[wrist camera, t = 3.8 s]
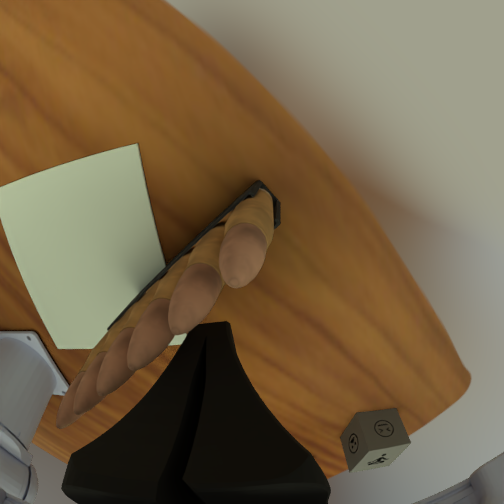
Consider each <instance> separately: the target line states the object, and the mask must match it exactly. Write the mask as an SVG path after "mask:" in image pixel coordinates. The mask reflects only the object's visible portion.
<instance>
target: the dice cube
mask: <svg viewBox="0 0 504 504" xmlns="http://www.w3.org/2000/svg"><path fill="white" fill-rule="evenodd" d="M340 439H341V442H342V446H343V450H344V453H345V457H346V461H347V465H348V469H349V472H357V471H363V470H369V469H374V468H379V467H384V466H389V465H390V464H391V463H392V462H393V461H394V460H395V459H396V458H397V457H398V456H399V455H400V454H401V453H402V452H403V451H404V450H405V449H406V448H407V447H408V446H409V445H410V443H411V442H410V439H409V437H408V434H407V432H406V430H405V427H404V425H403V423H402V420H401V418H400V416H399V414H398V411H397V409H396V408H393V409H385V410H377V411H368V412H357V413H356V414H355V416H354V417H353V419H352V420H351V422H350V423H349V425H348V426H347V428H346V429H345V431H344V432H343V434H342V435H341V437H340Z"/></svg>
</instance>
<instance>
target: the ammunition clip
mask: <svg viewBox="0 0 504 504" xmlns="http://www.w3.org/2000/svg"><path fill="white" fill-rule="evenodd" d="M279 225H280V202H279V201H278V199H277V198H276V197H275V196H274V195H273V194H272V193H271V192H270V191H269V189H268V188H267V187H266V186H265V185H264V184H263V183H262V182H261V181H260V180H258V181H256V182H255V183H254V184H253V185H252V186H251V187H249V188H248V189H247V190H246V191H245V192H244V193H243V194H242V195H241V196H240V197H238V198H237V199H236V200H235V201H234V202H233V203H232V204H231V205H230V206H229V207H228V208H226V209H225V210H224V211H223V212H222V213H221V214H220V215H219V216H218V217H217V218H216V219H215V220H213V221H212V222H211V223H210V224H209V225H208V226H207V227H206V228H205V229H204V230H203V231H202V232H201V233H200V234H199V235H198V236H197V237H195V238H194V239H193V240H192V241H191V242H190V243H189V244H188V245H187V246H186V247H185V248H184V249H183V250H182V251H181V252H180V253H179V254H178V255H177V256H176V257H175V258H174V259H173V260H172V261H171V262H170V263H169V264H168V265H167V266H166V267H165V268H163V269H162V270H161V271H160V272H159V273H158V274H157V275H156V276H155V277H154V278H153V279H152V280H151V281H150V282H149V283H148V284H147V285H146V286H145V287H144V288H143V289H142V290H141V291H140V292H139V293H138V295H137V296H136V297H135V298H134V299H133V300H132V301H131V302H130V303H129V304H128V305H127V307H126V308H125V309H124V310H123V311H122V312H121V313H120V314H119V315H118V317H117V318H116V319H115V320H114V321H113V322H112V323H111V324H110V325H109V327H108V328H107V330H108V332H107V333H106V334H105V335H104V336H103V338H102V339H101V340H100V341H99V342H98V343H97V345H96V346H95V347H94V348H93V349H92V351H91V352H90V354H89V356H88V359H87V361H86V363H85V364H84V366H83V367H82V369H81V370H80V371H79V373H78V375H77V377H76V378H75V379H74V381H73V382H72V383H71V385H70V386H69V388H68V390H67V392H66V393H65V395H64V397H63V399H62V402H61V404H60V407H59V410H58V414H57V420H56V426H57V428H59V429H62V428H65V427H67V426H69V425H71V424H72V423H73V422H75V421H76V420H77V419H78V418H80V417H81V416H82V415H83V414H84V413H85V412H87V411H89V410H90V409H92V408H93V407H94V406H95V405H97V404H98V403H99V402H100V401H101V400H102V399H103V398H105V397H106V395H107V394H110V393H112V392H113V391H115V390H116V389H117V388H119V387H120V386H121V385H122V384H124V383H125V382H126V381H127V380H128V379H129V378H130V377H131V376H132V375H133V374H134V373H135V371H136V370H138V369H141V368H143V367H145V366H147V365H148V364H149V363H151V362H152V361H153V360H154V359H155V358H157V357H158V356H159V355H160V354H161V353H162V352H163V351H164V350H165V349H166V347H167V346H168V345H169V344H170V342H171V341H172V340H173V338H174V336H175V335H181V334H184V333H187V332H189V331H191V330H192V329H193V328H194V327H195V326H197V325H198V324H199V323H200V322H201V321H202V320H203V319H204V318H205V317H206V316H207V315H208V313H209V312H210V310H211V309H212V307H213V305H214V304H215V302H216V300H217V298H218V295H219V294H220V292H221V290H222V288H223V286H224V285H225V284H227V285H229V286H230V287H233V288H240V287H243V286H245V285H247V284H248V283H249V282H250V281H251V280H253V279H254V278H255V277H256V275H257V274H258V272H259V271H260V269H261V267H262V265H263V263H264V260H265V255H266V252H267V248H268V247H269V245H270V243H271V241H272V239H273V233H274V229H275V228H277V227H278V226H279Z"/></svg>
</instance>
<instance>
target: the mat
mask: <svg viewBox="0 0 504 504" xmlns="http://www.w3.org/2000/svg"><path fill="white" fill-rule="evenodd" d="M0 218H1V221H2V224H3V227H4V230H5V233H6V236H7V239H8V242H9V245H10V248H11V250H12V253H13V256H14V258H15V261H16V263H17V266H18V268H19V271H20V273H21V275H22V278H23V280H24V282H25V285H26V287H27V289H28V291H29V294H30V296H31V298H32V300H33V302H34V304H35V306H36V308H37V310H38V312H39V314H40V316H41V318H42V320H43V322H44V324H45V326H46V328H47V330H48V332H49V334H50V335H51V337H52V339H53V341H54V343H55V344H56V346H57V348H58V349H93V348H94V347H95V346H96V345H97V343H98V342H99V341H100V340H101V339H102V338H103V336H104V335H105V334H106V333H107V332H108V330H107V328H108V327H109V325H110V324H111V323H112V322H113V321H114V320H115V319H116V318H117V317H118V315H119V314H120V313H121V312H122V311H123V310H124V309H125V308H126V307H127V305H128V304H129V303H130V302H131V301H132V300H133V299H134V298H135V297H136V296H137V295H138V293H139V292H140V291H141V290H142V289H143V288H144V287H145V286H146V285H147V284H148V283H149V282H150V281H151V280H152V279H153V278H154V277H155V276H156V275H157V274H158V273H159V272H160V271H161V270H162V269H163V268H165V267H166V263H165V259H164V256H163V252H162V248H161V244H160V240H159V236H158V232H157V228H156V224H155V220H154V216H153V212H152V207H151V203H150V199H149V194H148V190H147V185H146V181H145V176H144V171H143V166H142V161H141V156H140V151H139V145H138V143H137V144H133V145H129V146H125V147H121V148H117V149H113V150H109V151H105V152H102V153H98V154H95V155H91V156H88V157H84V158H81V159H78V160H75V161H71V162H68V163H65V164H62V165H59V166H56V167H53V168H50V169H47V170H44V171H41V172H39V173H36V174H33V175H30V176H28V177H25V178H22V179H20V180H17V181H15V182H12V183H9V184H7V185H5V186H2V187H0ZM186 336H187V333H184V334H181V335H175V336H174V338H173V340H172V341H171V342H170V344H169V345H179V344H182V343H183V341H184V339H185V337H186Z"/></svg>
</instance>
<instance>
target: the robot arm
mask: <svg viewBox="0 0 504 504" xmlns="http://www.w3.org/2000/svg"><path fill="white" fill-rule="evenodd" d="M68 388H69V385H68V383H67V382H66V380H65V379H64V377H63V376H62V374H61V373H60V371H59V370H58V368H57V367H56V365H55V363H54V362H53V360H52V359H51V357H50V355H49V354H48V352H47V350H46V349H45V347H44V345H43V343H42V342H41V340H40V338H39V336H38V335H37V334H36V333H35V332H33V331H0V504H34V501H35V499H36V495H37V491H38V478H37V474H36V470H35V468H34V466H33V465H32V464H31V461H32V458H33V455H32V454H30V453H29V452H28V449H29V447H30V444H31V442H32V439H33V437H34V434H35V432H36V429H37V427H38V425H39V422H40V420H41V418H42V415H43V413H44V411H45V409H46V406H47V404H48V402H49V400H50V398H51V396H52V394H54V395H65V393H66V392H67V390H68ZM61 489H62V491H63V492H64V493H65V495H66V496H68V497H69V498H70V499H72V500H73V501H75V502H76V503H78V504H328V499H329V496H330V493H331V489H330V485H329V483H328V480H327V478H326V476H325V475H324V473H323V471H322V470H321V468H320V467H319V465H318V464H317V462H316V461H315V459H314V458H313V456H312V455H311V453H310V452H309V451H308V450H306V449H305V448H304V447H303V446H302V445H301V444H300V443H299V442H298V441H297V440H296V439H295V438H294V437H293V436H292V435H291V434H290V433H289V432H288V431H287V430H286V429H285V428H284V427H283V426H282V425H281V423H280V422H279V421H278V420H277V419H276V417H275V416H274V415H273V414H272V413H271V411H270V410H269V409H268V408H267V406H266V405H265V404H264V402H263V401H262V399H261V398H260V396H259V395H258V393H257V392H256V390H255V389H254V387H253V386H252V384H251V382H250V380H249V379H248V377H247V375H246V373H245V371H244V369H243V367H242V365H241V363H240V361H239V358H238V356H237V353H236V348H235V344H234V339H233V335H232V330H231V325H230V323H229V322H227V321H223V322H214V323H205V324H198V325H197V326H195V327H194V328H193V329H192V330H191V331H189V332H188V334H187V336H186V337H185V339H184V341H183V343H182V344H181V346H180V348H179V349H178V351H177V352H176V354H175V356H174V357H173V359H172V360H171V362H170V363H169V365H168V366H167V368H166V369H165V371H164V372H163V373H162V375H161V376H160V377H159V379H158V380H157V381H156V383H155V384H154V385H153V387H152V388H151V389H150V390H149V391H148V393H147V394H146V395H145V396H144V397H143V398H142V399H141V401H140V402H139V403H138V404H137V405H136V406H135V407H134V408H133V409H132V410H131V411H130V412H129V413H127V414H126V415H125V416H124V417H123V418H122V419H121V420H120V421H119V422H118V423H116V424H115V425H114V426H113V427H111V428H110V429H109V430H108V431H106V432H105V433H104V434H102V435H101V436H100V437H98V438H97V439H95V440H94V441H92V442H91V443H89V444H87V445H86V446H84V447H83V448H81V449H79V450H78V451H76V452H74V453H72V454H71V457H70V460H69V462H68V465H67V469H66V472H65V476H64V479H63V483H62V488H61ZM413 504H504V452H503V453H502V454H500V455H498V456H497V457H495V458H494V459H492V460H490V461H489V462H487V463H485V464H484V465H482V466H481V467H479V468H478V469H477V470H476V471H474V472H473V473H472V474H471V476H470V477H469V478H468V479H466V480H464V481H462V482H460V483H458V484H456V485H454V486H452V487H450V488H448V489H446V490H443V491H441V492H439V493H437V494H435V495H432V496H430V497H428V498H425V499H423V500H421V501H418V502H415V503H413Z"/></svg>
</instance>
